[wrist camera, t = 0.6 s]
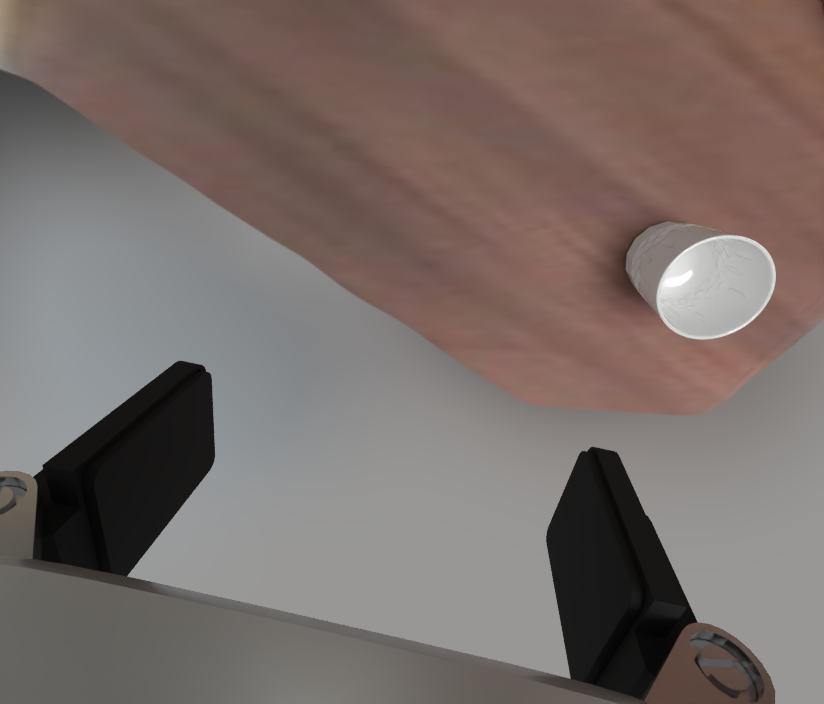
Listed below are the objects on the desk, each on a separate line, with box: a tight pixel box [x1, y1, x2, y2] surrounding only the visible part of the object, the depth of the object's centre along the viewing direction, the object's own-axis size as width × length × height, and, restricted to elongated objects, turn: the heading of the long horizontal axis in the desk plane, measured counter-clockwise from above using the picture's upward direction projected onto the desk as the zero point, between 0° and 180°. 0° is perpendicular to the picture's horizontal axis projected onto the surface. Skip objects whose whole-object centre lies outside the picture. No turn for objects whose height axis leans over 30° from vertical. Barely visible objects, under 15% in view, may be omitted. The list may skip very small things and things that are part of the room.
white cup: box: [626, 221, 776, 339], centre depth 37 cm, size 8×8×10 cm
